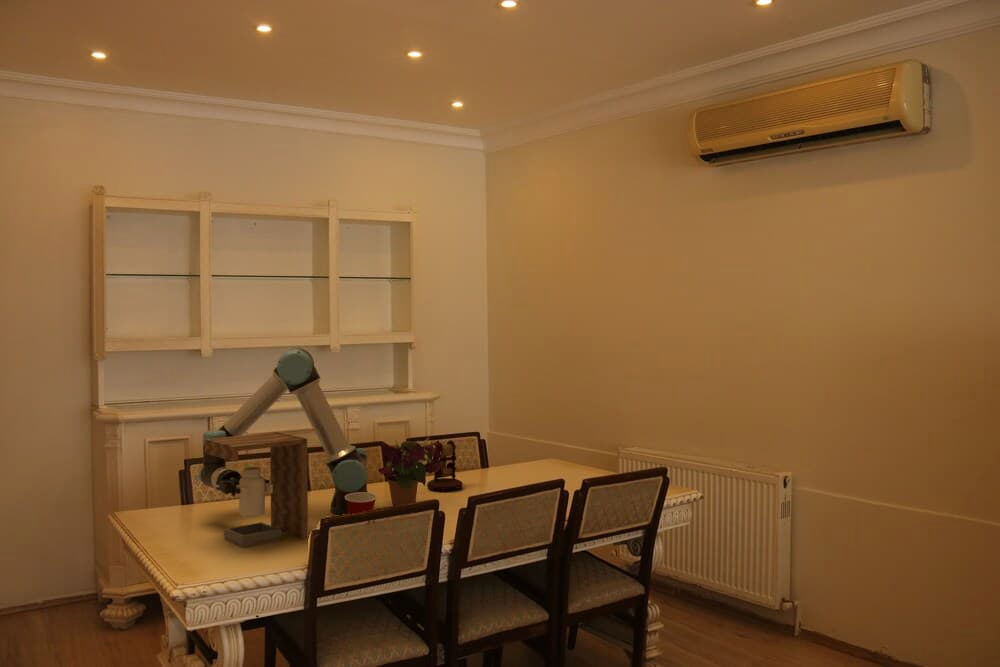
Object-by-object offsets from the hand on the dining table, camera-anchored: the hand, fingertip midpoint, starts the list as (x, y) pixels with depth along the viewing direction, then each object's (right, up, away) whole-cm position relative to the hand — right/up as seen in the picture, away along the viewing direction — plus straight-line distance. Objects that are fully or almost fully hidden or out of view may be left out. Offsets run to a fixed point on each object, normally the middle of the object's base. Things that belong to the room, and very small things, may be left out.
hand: (259, 490), depth 271 cm
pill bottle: (-3, -9, +4) cm, 10 cm away
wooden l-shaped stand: (-2, -17, +5) cm, 17 cm away
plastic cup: (+30, -17, +15) cm, 37 cm away
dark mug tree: (+54, -15, +84) cm, 101 cm away
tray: (-3, -17, +4) cm, 17 cm away
